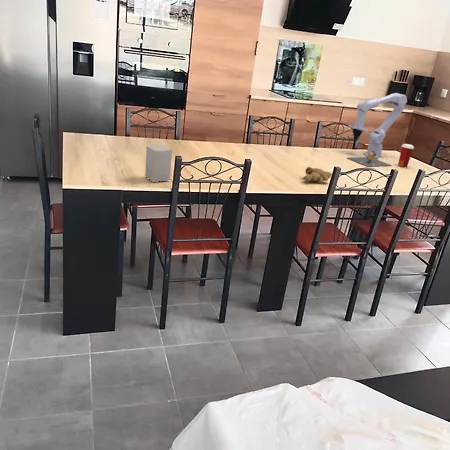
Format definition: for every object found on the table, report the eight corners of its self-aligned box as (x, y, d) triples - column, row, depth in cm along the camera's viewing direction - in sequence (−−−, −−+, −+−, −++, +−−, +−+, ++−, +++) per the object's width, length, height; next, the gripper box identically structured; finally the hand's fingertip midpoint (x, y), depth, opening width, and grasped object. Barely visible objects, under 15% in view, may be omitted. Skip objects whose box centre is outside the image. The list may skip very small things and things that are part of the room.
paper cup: (408, 166, 293) (414, 145, 287) (408, 168, 286) (414, 147, 281) (396, 163, 295) (401, 142, 289) (396, 166, 288) (402, 145, 283)
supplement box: (170, 181, 207) (172, 150, 201) (152, 183, 202) (154, 150, 196) (162, 175, 214) (163, 144, 208) (144, 177, 209) (146, 145, 203)
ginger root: (326, 174, 244) (329, 161, 240) (331, 190, 232) (335, 177, 227) (297, 172, 244) (300, 159, 239) (301, 188, 231) (304, 175, 226)
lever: (369, 154, 299) (370, 147, 297) (376, 155, 298) (377, 148, 296) (365, 159, 284) (367, 152, 282) (372, 160, 282) (374, 153, 281)
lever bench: (370, 157, 302) (371, 154, 301) (391, 166, 287) (392, 162, 286) (346, 158, 293) (347, 154, 292) (367, 166, 278) (368, 162, 276)
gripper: (347, 118, 300) (343, 138, 305) (365, 123, 289) (360, 143, 295) (354, 118, 304) (349, 138, 309) (371, 122, 294) (366, 143, 299)
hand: (355, 140), depth 302 cm, fingers closed
